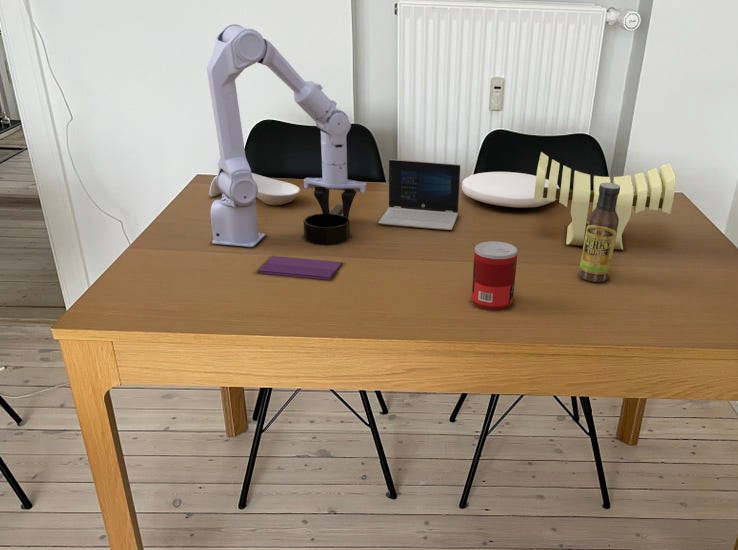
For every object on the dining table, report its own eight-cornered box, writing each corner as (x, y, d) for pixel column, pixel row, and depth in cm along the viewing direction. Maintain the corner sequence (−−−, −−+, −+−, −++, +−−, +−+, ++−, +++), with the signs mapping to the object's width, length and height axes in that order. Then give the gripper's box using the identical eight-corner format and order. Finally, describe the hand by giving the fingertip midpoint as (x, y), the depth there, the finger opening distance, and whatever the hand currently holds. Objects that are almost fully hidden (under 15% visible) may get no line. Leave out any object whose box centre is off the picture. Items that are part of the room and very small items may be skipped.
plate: (471, 164, 211) (563, 174, 207) (470, 187, 214) (560, 197, 210) (453, 179, 186) (558, 190, 182) (452, 205, 188) (555, 216, 184)
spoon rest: (306, 197, 193) (305, 170, 189) (291, 211, 183) (289, 182, 179) (222, 189, 196) (219, 163, 192) (202, 202, 186) (198, 174, 182)
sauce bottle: (575, 280, 151) (588, 185, 142) (582, 270, 156) (595, 178, 147) (605, 286, 149) (621, 190, 139) (612, 276, 154) (627, 183, 145)
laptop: (377, 225, 176) (377, 171, 169) (388, 209, 187) (388, 158, 180) (451, 232, 174) (454, 178, 168) (458, 215, 185) (460, 164, 179)
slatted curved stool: (529, 245, 168) (537, 168, 160) (533, 223, 182) (541, 151, 173) (661, 258, 165) (677, 180, 156) (655, 235, 178) (669, 162, 170)
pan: (342, 246, 163) (342, 229, 161) (299, 242, 164) (298, 225, 162) (361, 221, 178) (361, 205, 176) (321, 218, 179) (320, 202, 177)
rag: (257, 273, 147) (257, 270, 147) (273, 257, 155) (272, 254, 155) (329, 280, 146) (329, 277, 146) (341, 263, 154) (341, 261, 153)
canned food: (518, 308, 138) (523, 254, 133) (478, 312, 136) (482, 257, 130) (504, 292, 144) (509, 239, 139) (466, 295, 142) (469, 242, 137)
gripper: (369, 160, 170) (369, 216, 176) (309, 155, 171) (311, 211, 178) (362, 168, 164) (362, 226, 170) (299, 163, 165) (302, 220, 172)
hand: (336, 219), depth 174 cm, fingers open, 4 cm apart
